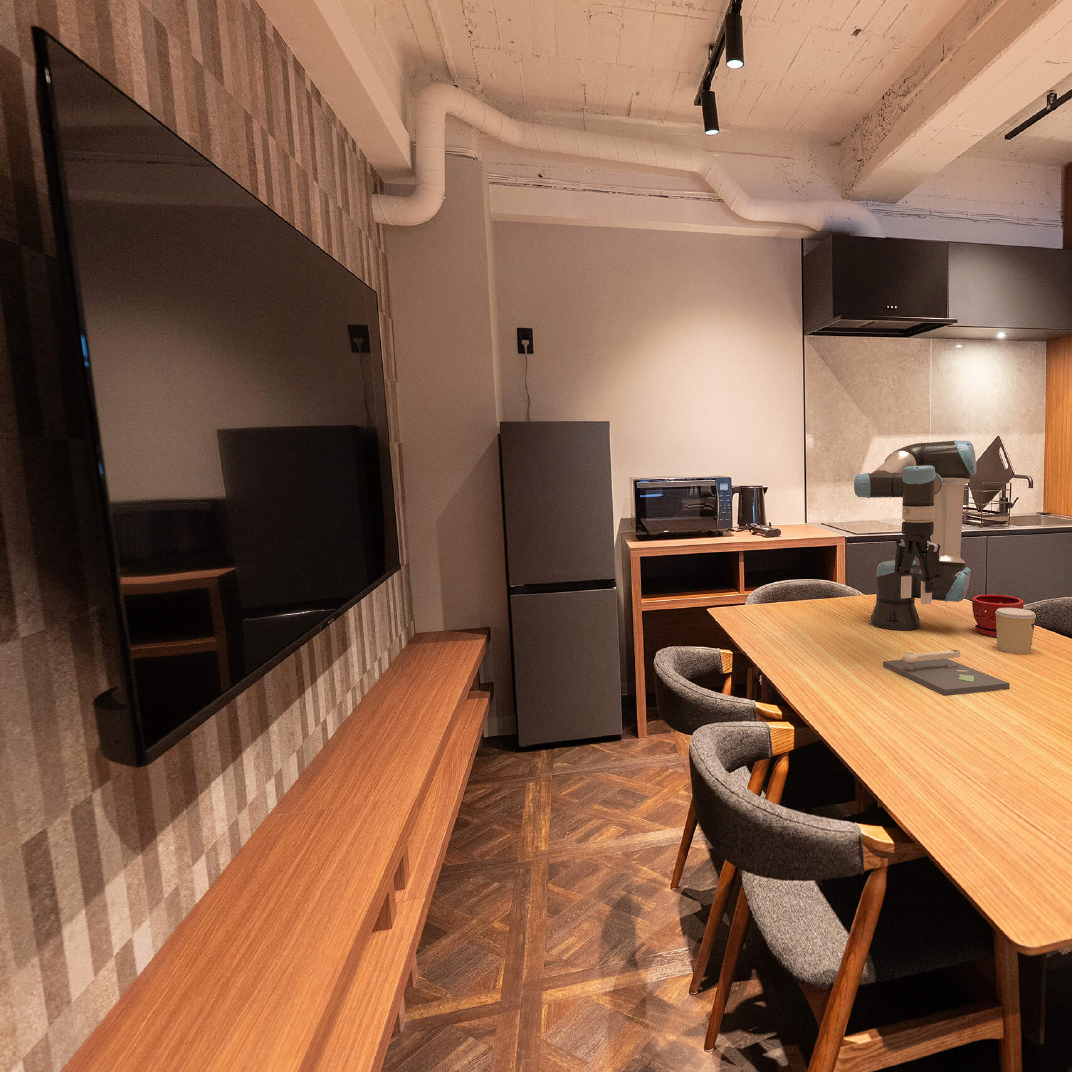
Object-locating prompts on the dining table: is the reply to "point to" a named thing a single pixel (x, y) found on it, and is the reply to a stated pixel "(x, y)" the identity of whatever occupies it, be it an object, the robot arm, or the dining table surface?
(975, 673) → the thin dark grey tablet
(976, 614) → the plant pot
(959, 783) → the dining table surface
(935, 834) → the dining table surface
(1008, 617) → the coffee cup
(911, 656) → the knob-ended beige rod
